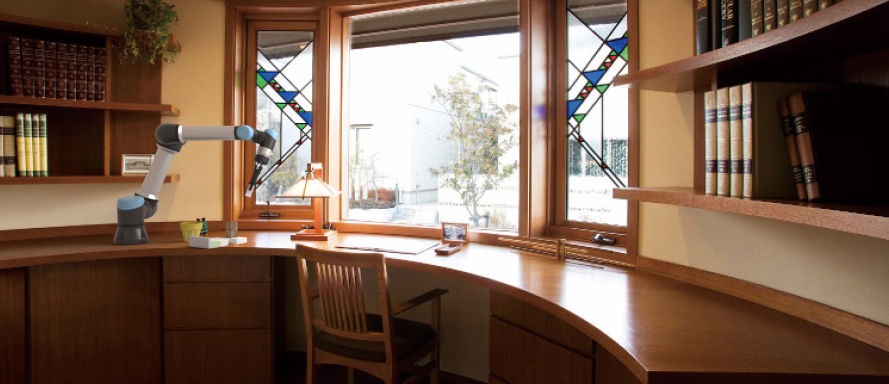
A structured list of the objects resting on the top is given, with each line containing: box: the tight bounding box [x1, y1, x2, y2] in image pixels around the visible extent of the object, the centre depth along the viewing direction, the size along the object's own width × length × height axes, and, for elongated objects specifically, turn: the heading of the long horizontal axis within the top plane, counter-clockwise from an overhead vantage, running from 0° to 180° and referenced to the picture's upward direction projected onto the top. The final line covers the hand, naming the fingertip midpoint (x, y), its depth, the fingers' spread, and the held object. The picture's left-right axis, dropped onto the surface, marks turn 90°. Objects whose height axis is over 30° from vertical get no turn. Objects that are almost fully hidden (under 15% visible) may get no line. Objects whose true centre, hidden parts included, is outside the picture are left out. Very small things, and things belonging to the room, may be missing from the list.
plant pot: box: [179, 221, 202, 243], centre depth 262 cm, size 10×10×10 cm
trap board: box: [188, 236, 248, 249], centre depth 253 cm, size 23×14×5 cm, turn 154°
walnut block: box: [225, 221, 239, 238], centre depth 260 cm, size 4×4×8 cm
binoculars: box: [196, 217, 209, 237], centre depth 280 cm, size 9×11×10 cm
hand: (247, 196), depth 269 cm, fingers closed
